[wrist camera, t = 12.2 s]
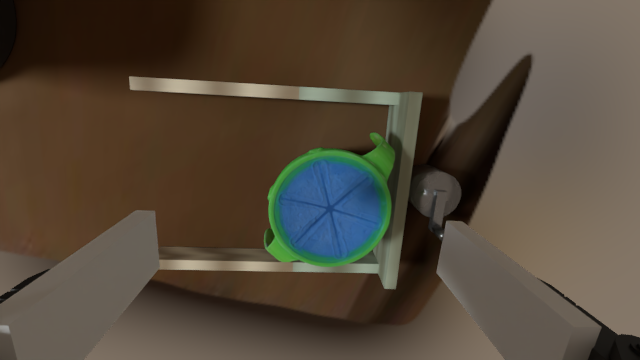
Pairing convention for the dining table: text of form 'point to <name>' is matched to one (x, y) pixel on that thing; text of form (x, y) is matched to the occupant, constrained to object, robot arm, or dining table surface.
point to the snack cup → (330, 205)
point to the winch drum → (433, 195)
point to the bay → (403, 143)
